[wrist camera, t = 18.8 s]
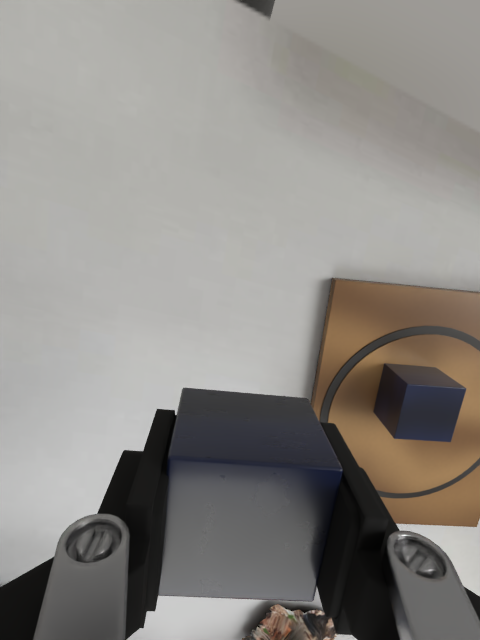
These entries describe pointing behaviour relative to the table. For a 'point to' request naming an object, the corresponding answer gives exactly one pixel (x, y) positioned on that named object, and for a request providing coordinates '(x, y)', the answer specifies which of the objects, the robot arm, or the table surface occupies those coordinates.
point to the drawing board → (363, 383)
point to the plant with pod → (294, 626)
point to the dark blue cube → (418, 402)
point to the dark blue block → (247, 497)
